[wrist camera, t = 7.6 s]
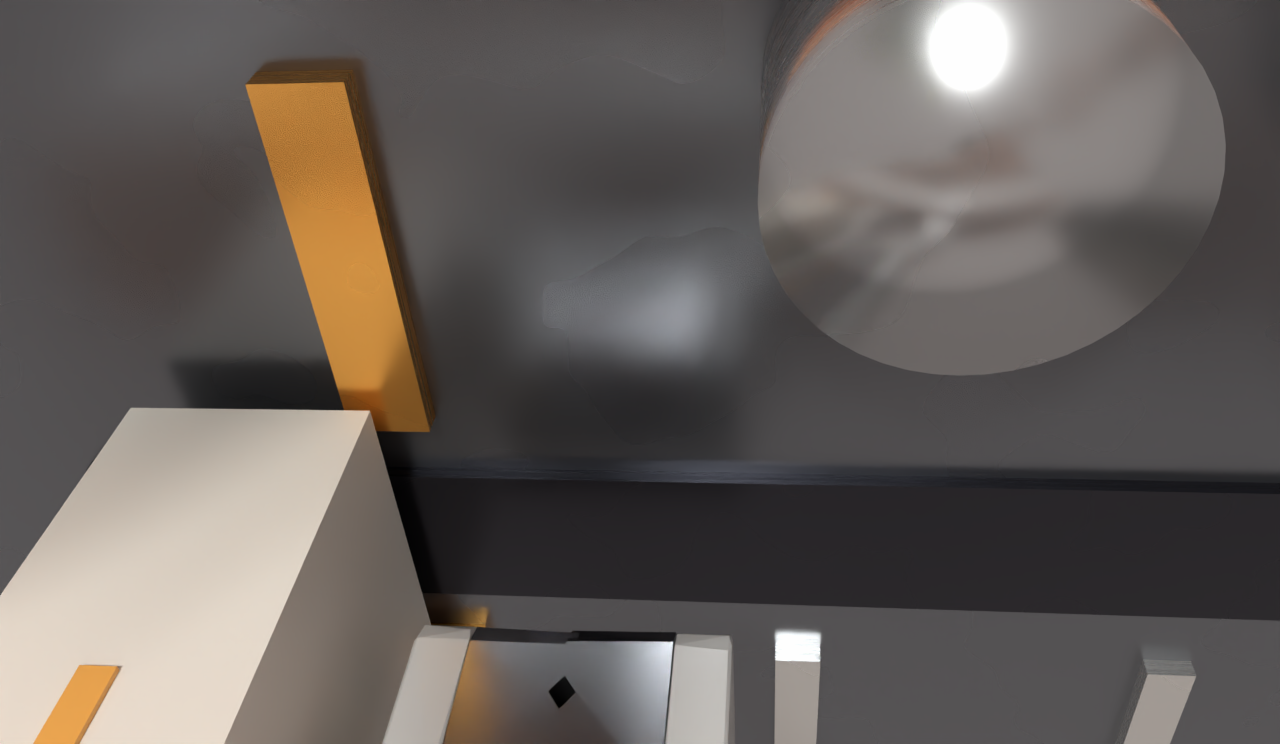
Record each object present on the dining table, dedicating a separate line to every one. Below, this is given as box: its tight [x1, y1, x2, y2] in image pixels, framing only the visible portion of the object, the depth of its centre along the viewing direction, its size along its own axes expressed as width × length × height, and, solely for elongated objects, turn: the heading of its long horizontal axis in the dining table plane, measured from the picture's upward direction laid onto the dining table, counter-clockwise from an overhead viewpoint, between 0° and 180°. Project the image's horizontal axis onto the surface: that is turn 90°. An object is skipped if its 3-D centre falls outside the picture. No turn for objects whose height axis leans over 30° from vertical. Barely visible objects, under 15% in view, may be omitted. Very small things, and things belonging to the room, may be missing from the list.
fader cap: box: [0, 408, 431, 744], centre depth 10 cm, size 2×4×4 cm, turn 4°
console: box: [0, 0, 1280, 744], centre depth 12 cm, size 20×14×4 cm
